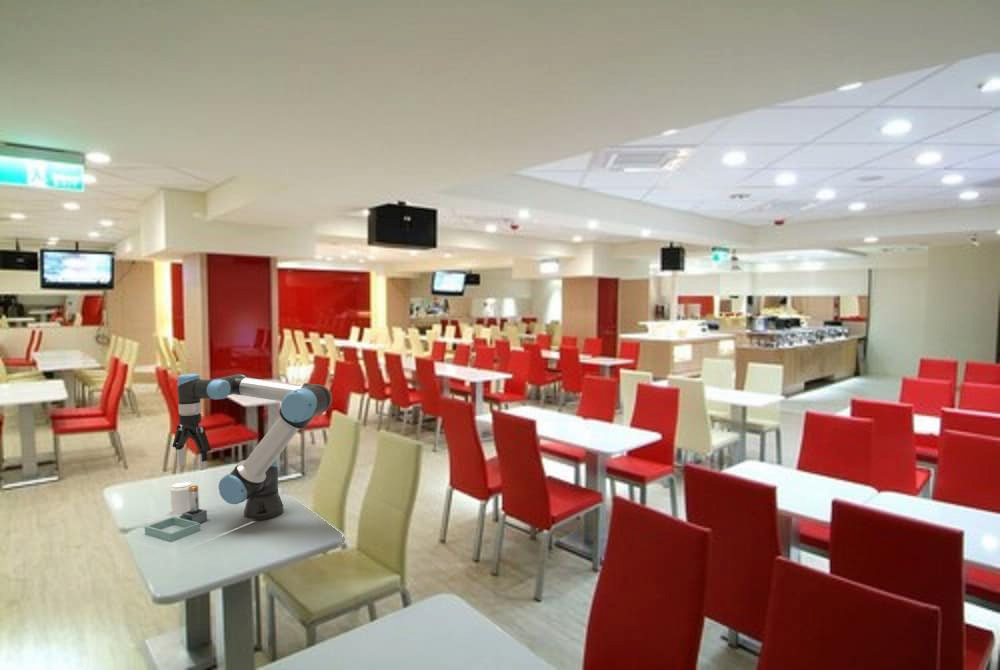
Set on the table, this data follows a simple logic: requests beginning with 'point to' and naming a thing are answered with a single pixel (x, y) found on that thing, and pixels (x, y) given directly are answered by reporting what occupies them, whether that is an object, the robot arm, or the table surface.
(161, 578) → the table surface
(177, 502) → the white upright cylinder
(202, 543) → the table surface
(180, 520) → the tray
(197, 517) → the dark grey open box
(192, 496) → the grey orange cylinder
